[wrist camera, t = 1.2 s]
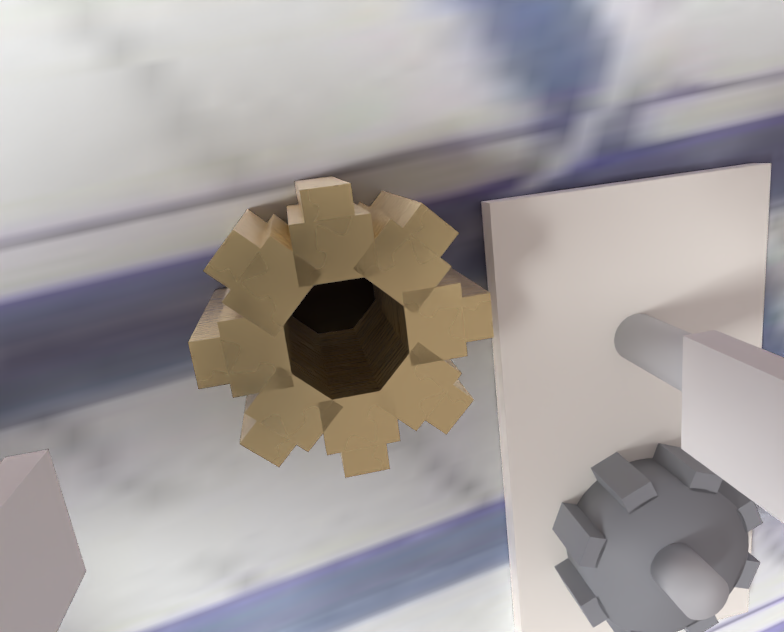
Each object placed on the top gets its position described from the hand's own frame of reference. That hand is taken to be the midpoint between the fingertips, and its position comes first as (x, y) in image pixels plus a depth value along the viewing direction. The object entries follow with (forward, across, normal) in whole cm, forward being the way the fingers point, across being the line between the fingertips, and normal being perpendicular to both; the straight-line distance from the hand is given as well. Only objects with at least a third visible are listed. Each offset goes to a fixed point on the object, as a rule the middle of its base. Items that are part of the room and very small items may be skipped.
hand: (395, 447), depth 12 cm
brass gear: (+16, 0, 0) cm, 16 cm away
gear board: (+16, +14, -10) cm, 24 cm away
